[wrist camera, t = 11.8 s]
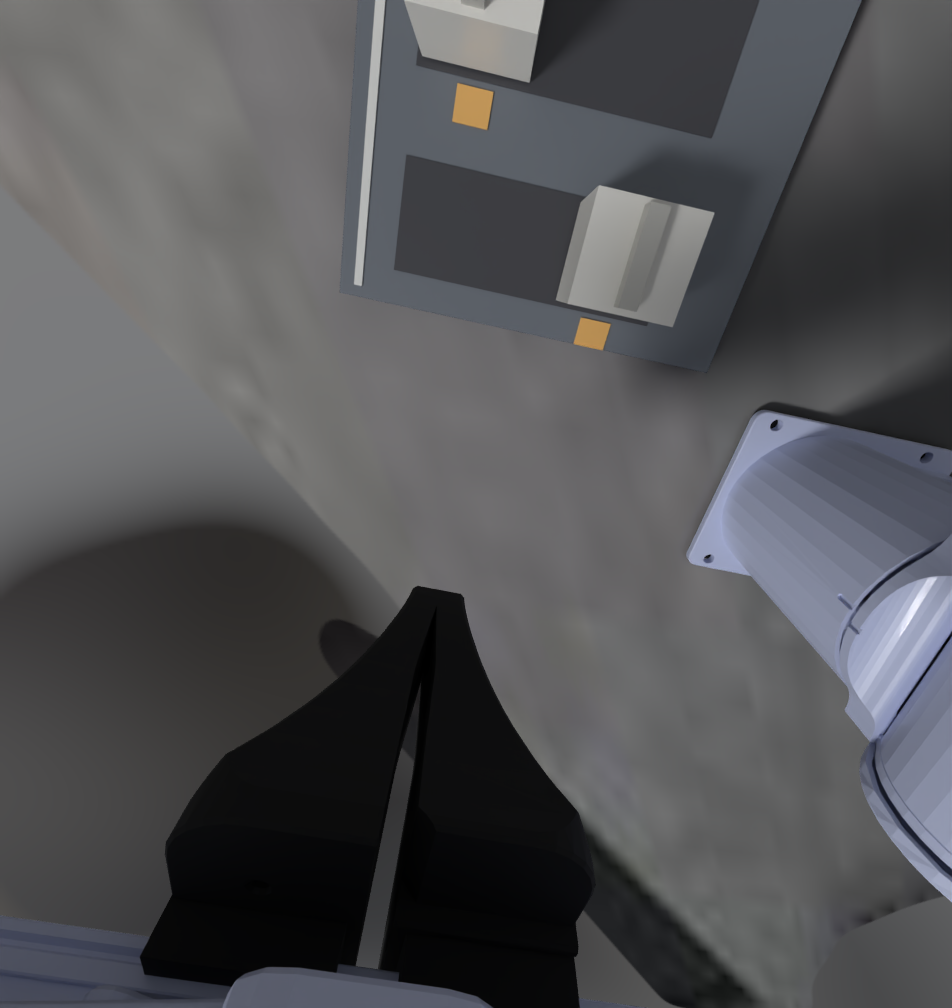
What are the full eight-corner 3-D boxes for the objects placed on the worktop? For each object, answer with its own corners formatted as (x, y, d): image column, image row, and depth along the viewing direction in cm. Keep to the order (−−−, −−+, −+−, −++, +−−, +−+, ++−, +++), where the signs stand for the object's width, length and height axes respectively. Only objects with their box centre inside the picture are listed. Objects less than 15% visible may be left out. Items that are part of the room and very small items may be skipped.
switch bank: (985, -343, 12) (1028, -399, 11) (697, 368, 19) (707, 373, 19) (404, -526, 11) (394, -604, 10) (346, 292, 19) (339, 292, 18)
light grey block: (675, 224, 16) (723, 209, 13) (643, 319, 18) (679, 329, 14) (580, 202, 16) (603, 181, 13) (555, 300, 17) (570, 304, 14)
